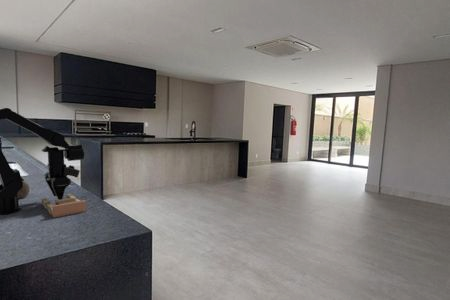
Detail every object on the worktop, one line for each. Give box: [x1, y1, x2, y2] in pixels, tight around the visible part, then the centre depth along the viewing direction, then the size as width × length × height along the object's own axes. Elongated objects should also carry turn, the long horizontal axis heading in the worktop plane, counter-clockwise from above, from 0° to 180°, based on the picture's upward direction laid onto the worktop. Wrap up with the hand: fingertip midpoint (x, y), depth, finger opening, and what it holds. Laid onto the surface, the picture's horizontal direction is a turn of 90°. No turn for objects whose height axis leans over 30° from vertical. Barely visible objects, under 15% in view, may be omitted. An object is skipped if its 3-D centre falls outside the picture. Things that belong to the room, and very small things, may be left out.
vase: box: [17, 177, 30, 200], centre depth 123 cm, size 7×7×9 cm
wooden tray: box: [41, 193, 81, 217], centre depth 111 cm, size 20×11×2 cm, turn 43°
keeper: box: [54, 198, 77, 205], centre depth 107 cm, size 8×6×4 cm
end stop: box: [52, 199, 87, 218], centre depth 103 cm, size 2×11×4 cm, turn 133°
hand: (58, 198), depth 116 cm, fingers open, 9 cm apart
